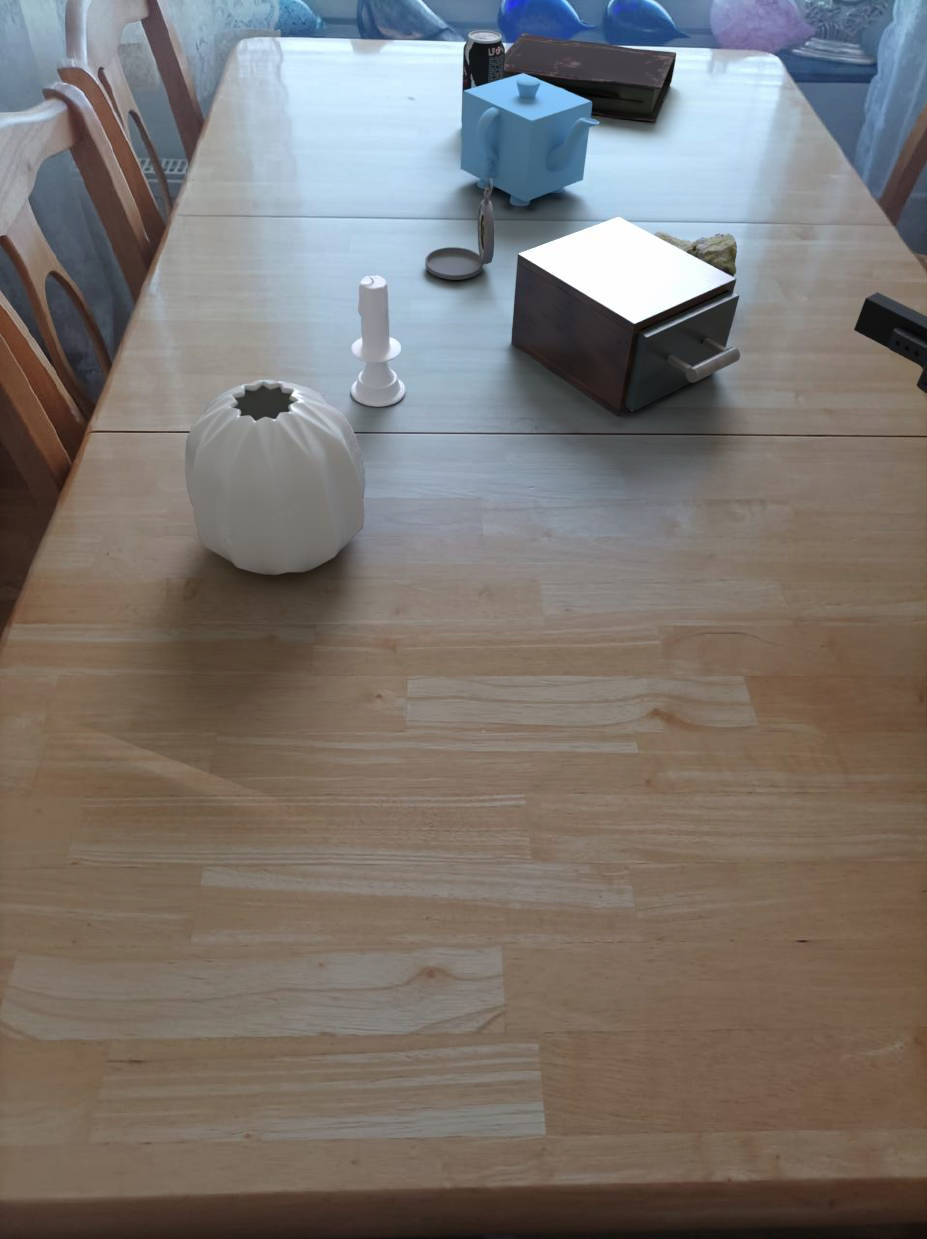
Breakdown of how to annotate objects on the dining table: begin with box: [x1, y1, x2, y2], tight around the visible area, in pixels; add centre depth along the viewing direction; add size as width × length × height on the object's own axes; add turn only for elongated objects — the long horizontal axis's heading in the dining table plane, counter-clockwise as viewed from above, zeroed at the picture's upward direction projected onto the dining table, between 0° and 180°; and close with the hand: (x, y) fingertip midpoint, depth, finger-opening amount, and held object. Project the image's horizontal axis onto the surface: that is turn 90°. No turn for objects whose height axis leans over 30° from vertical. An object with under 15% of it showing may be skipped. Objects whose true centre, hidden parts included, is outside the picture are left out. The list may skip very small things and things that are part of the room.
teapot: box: [460, 73, 600, 207], centre depth 117 cm, size 18×16×13 cm
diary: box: [504, 32, 677, 122], centre depth 145 cm, size 19×25×5 cm
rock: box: [653, 231, 738, 278], centre depth 106 cm, size 11×6×10 cm
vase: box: [184, 378, 367, 576], centre depth 72 cm, size 14×14×13 cm
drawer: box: [624, 291, 741, 412], centre depth 91 cm, size 18×13×8 cm
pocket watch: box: [424, 179, 496, 281], centre depth 104 cm, size 8×8×10 cm
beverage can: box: [461, 29, 506, 123], centre depth 131 cm, size 6×6×12 cm
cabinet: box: [510, 216, 737, 417], centre depth 93 cm, size 16×14×10 cm
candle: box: [350, 274, 407, 408], centre depth 87 cm, size 5×5×12 cm
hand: (865, 311), depth 72 cm, fingers closed
